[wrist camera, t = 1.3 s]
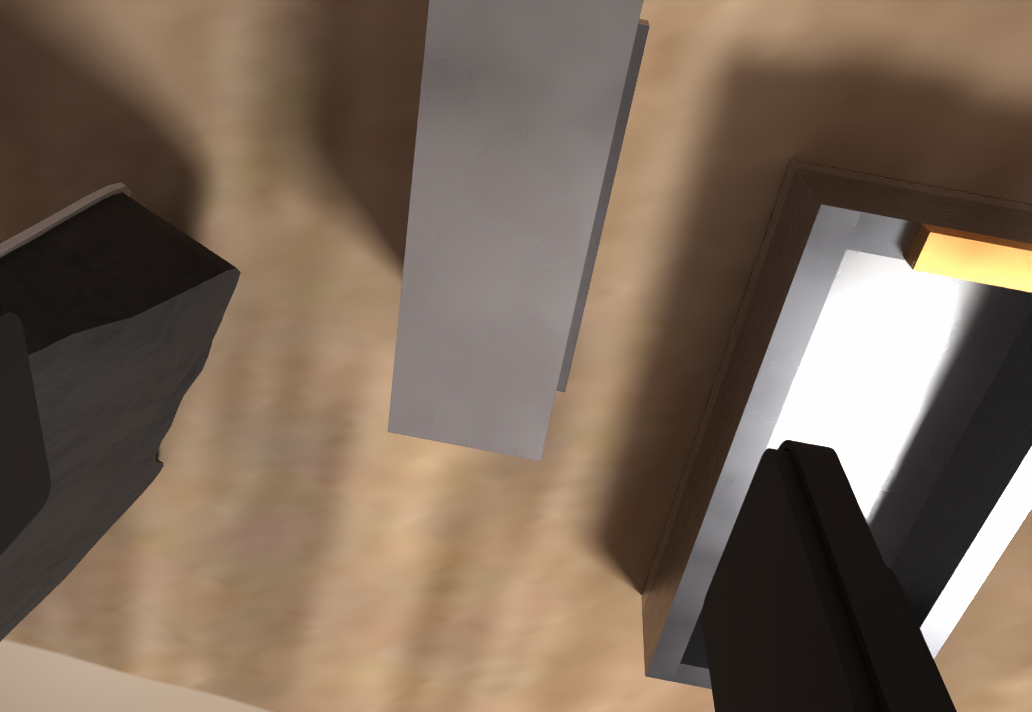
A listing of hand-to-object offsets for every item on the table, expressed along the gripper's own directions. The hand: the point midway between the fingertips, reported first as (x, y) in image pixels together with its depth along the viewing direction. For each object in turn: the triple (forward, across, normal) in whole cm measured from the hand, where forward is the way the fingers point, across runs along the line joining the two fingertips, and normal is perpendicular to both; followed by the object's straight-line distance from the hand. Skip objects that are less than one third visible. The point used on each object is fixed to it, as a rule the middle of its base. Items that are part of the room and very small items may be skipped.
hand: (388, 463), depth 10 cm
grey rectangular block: (+16, -1, 0) cm, 16 cm away
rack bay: (+15, -13, +8) cm, 21 cm away
